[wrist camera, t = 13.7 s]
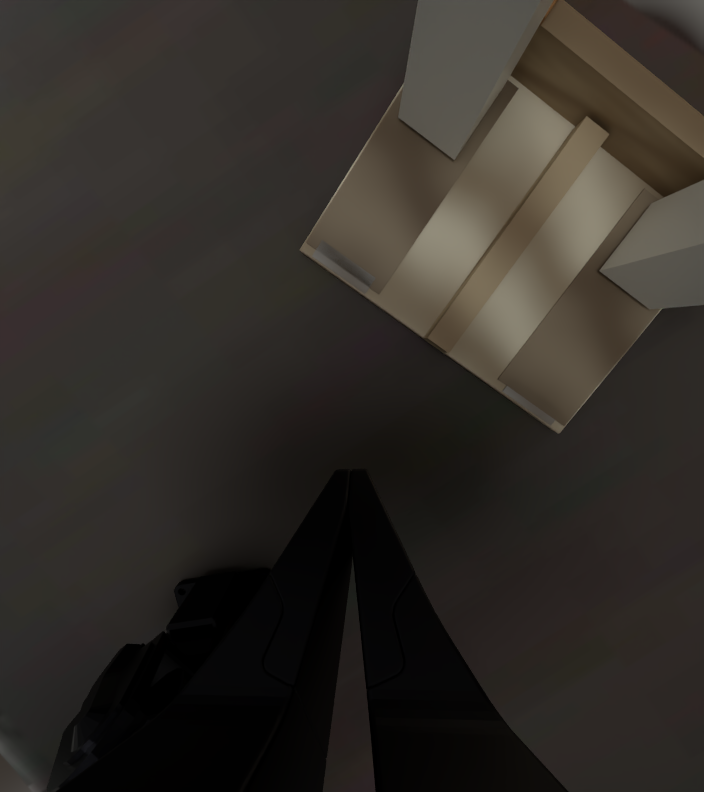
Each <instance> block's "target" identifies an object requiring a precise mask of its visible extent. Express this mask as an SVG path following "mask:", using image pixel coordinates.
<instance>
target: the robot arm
mask: <svg viewBox="0 0 704 792" xmlns="http://www.w3.org/2000/svg"><path fill="white" fill-rule="evenodd" d="M352 558H353V562H354V572H355V582H356V592H357V602H358V611H359V621H360V631H361V641H362V651H363V661H364V671H365V681H366V689H367V700H368V710H369V721H370V732H371V743H372V755H373V766H374V778H375V790H376V792H568V791H567V790H566V789H565V788H564V786H563V785H562V784H561V783H560V782H559V781H558V780H557V779H556V778H555V777H554V776H553V774H552V773H551V772H550V771H549V770H548V769H547V768H546V767H545V766H544V765H543V764H542V763H541V761H540V760H539V759H538V758H537V757H536V756H535V755H534V754H533V753H532V752H531V751H530V749H529V748H528V747H527V746H526V745H525V744H524V743H523V742H522V741H521V740H520V739H519V738H518V736H517V735H516V734H515V733H514V732H513V731H512V730H511V729H510V727H509V726H508V725H507V723H506V722H505V721H504V720H503V718H502V717H501V716H500V714H499V713H498V711H497V710H496V709H495V707H494V706H493V704H492V703H491V701H490V700H489V698H488V697H487V695H486V694H485V692H484V691H483V689H482V687H481V686H480V684H479V683H478V681H477V680H476V678H475V676H474V675H473V673H472V672H471V670H470V668H469V667H468V665H467V664H466V662H465V660H464V659H463V657H462V656H461V654H460V652H459V651H458V649H457V648H456V646H455V644H454V643H453V641H452V640H451V638H450V636H449V635H448V633H447V631H446V630H445V628H444V626H443V625H442V623H441V621H440V619H439V618H438V616H437V614H436V613H435V611H434V609H433V607H432V605H431V603H430V601H429V599H428V597H427V595H426V593H425V591H424V589H423V587H422V585H421V583H420V581H419V579H418V577H417V575H415V571H414V568H413V566H412V564H411V562H410V560H409V558H408V556H407V554H406V551H405V549H404V547H403V545H402V543H401V541H400V539H399V537H398V534H397V532H396V530H395V528H394V526H393V524H392V522H391V520H390V517H389V515H388V513H387V511H386V509H385V507H384V505H383V502H382V500H381V498H380V496H379V494H378V492H377V490H376V488H375V485H374V483H373V481H372V479H371V477H370V475H369V473H368V471H367V470H366V469H353V470H352V471H351V470H349V469H339V470H336V471H335V472H334V473H333V475H332V477H331V478H330V480H329V481H328V483H327V484H326V486H325V487H324V489H323V491H322V492H321V494H320V495H319V497H318V498H317V500H316V502H315V503H314V505H313V506H312V508H311V509H310V511H309V512H308V514H307V516H306V517H305V519H304V520H303V522H302V523H301V525H300V526H299V528H298V530H297V531H296V533H295V534H294V536H293V537H292V539H291V540H290V542H289V544H288V545H287V547H286V548H285V550H284V551H283V553H282V554H281V556H280V558H279V559H278V561H277V562H276V564H275V565H274V567H273V568H272V570H271V571H270V570H269V569H267V568H263V569H257V570H250V571H244V572H229V573H223V574H216V575H210V576H203V577H200V578H198V579H192V580H185V581H181V582H179V583H178V585H177V586H176V587H175V590H174V593H175V597H176V600H177V603H178V607H179V609H178V610H177V612H176V613H175V615H174V616H173V618H172V619H171V621H170V622H169V624H168V625H167V627H166V630H167V633H165V632H164V631H163V632H161V633H160V634H159V635H158V636H157V637H156V638H154V639H153V640H152V641H151V642H149V643H148V644H146V645H145V644H144V643H142V644H141V645H140V644H126V645H125V646H124V647H123V648H121V649H120V650H119V651H118V653H117V654H116V655H115V656H114V658H113V659H112V660H111V662H110V663H109V664H108V666H107V667H106V668H105V670H104V671H103V672H102V674H101V675H100V676H99V678H98V679H97V681H96V682H95V684H94V685H93V687H92V688H91V690H90V692H89V694H88V697H87V698H86V700H85V701H84V703H83V705H82V707H81V710H80V712H79V713H78V714H77V715H76V717H75V718H74V719H73V720H72V722H71V723H70V724H69V725H68V727H67V728H66V729H65V731H64V733H63V736H62V739H61V743H60V746H59V749H58V753H57V756H56V759H55V763H54V766H53V770H52V773H51V776H50V780H49V783H48V786H47V792H323V784H324V776H325V768H326V758H327V752H328V745H329V737H330V729H331V721H332V714H333V706H334V698H335V691H336V683H337V675H338V667H339V660H340V652H341V644H342V636H343V629H344V621H345V613H346V605H347V598H348V590H349V582H350V574H351V567H352ZM262 576H266V577H267V578H266V579H264V578H262ZM181 588H183V589H184V590H185V591H183V590H182V589H181Z"/></svg>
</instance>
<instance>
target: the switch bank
mask: <svg viewBox="0 0 704 792" xmlns="http://www.w3.org/2000/svg"><path fill="white" fill-rule="evenodd" d="M403 86H404V83H403V85H402V87H401V88H400V90H399V92H398V93H397V95H396V96H395V98H394V100H393V101H392V103H391V104H390V106H389V108H388V109H387V111H386V112H385V114H384V116H383V117H382V119H381V120H380V122H379V124H378V125H377V127H376V128H375V130H374V132H373V133H372V135H371V136H370V138H369V140H368V141H367V143H366V144H365V146H364V148H363V149H362V151H361V152H360V154H359V156H358V157H357V159H356V160H355V162H354V164H353V165H352V167H351V168H350V170H349V172H348V173H347V175H346V176H345V178H344V180H343V181H342V183H341V184H340V186H339V188H338V189H337V191H336V192H335V194H334V196H333V197H332V199H331V200H330V202H329V204H328V205H327V207H326V208H325V210H324V212H323V213H322V215H321V216H320V218H319V220H318V221H317V223H316V224H315V226H314V228H313V229H312V231H311V232H310V234H309V236H308V237H307V239H306V241H305V242H304V244H303V245H302V247H301V249H300V251H301V252H302V253H303V254H304V255H305V256H307V257H308V258H310V259H311V260H312V261H314V262H315V263H317V264H318V265H319V266H321V267H322V268H324V269H325V270H327V271H328V272H329V273H331V274H332V275H334V276H335V277H336V278H338V279H339V280H341V281H342V282H343V283H345V284H346V285H348V286H349V287H351V288H352V289H353V290H355V291H356V292H358V293H359V294H360V295H362V296H363V297H365V298H366V299H367V300H369V301H370V302H372V303H373V304H375V305H376V306H377V307H379V308H380V309H382V310H383V311H384V312H386V313H387V314H389V315H390V316H391V317H393V318H394V319H396V320H397V321H398V322H400V323H401V324H403V325H404V326H406V327H407V328H408V329H410V330H411V331H413V332H414V333H415V334H417V335H418V336H420V337H421V338H422V339H424V340H425V341H427V342H428V343H430V344H431V345H432V346H434V347H435V348H437V349H438V350H439V351H441V352H442V353H444V354H445V355H446V356H448V357H449V358H451V359H452V360H454V361H455V362H456V363H458V364H459V365H461V366H462V367H463V368H465V369H466V370H468V371H469V372H470V373H472V374H473V375H475V376H476V377H477V378H479V379H480V380H482V381H483V382H485V383H486V384H487V385H489V386H490V387H492V388H493V389H494V390H496V391H497V392H499V393H500V394H501V395H503V396H504V397H506V398H507V399H509V400H510V401H511V402H513V403H514V404H516V405H517V406H518V407H520V408H521V409H523V410H524V411H525V412H527V413H528V414H530V415H531V416H533V417H534V418H535V419H537V420H538V421H540V422H541V423H542V424H544V425H545V426H547V427H548V428H549V429H551V430H552V431H554V432H556V433H558V434H559V433H560V432H561V431H562V430H563V428H564V427H565V426H566V425H567V424H568V422H569V421H570V420H571V419H572V417H573V416H574V415H575V414H576V413H577V411H578V410H579V409H580V408H581V407H582V405H583V404H584V403H585V402H586V400H587V399H588V398H589V397H590V396H591V394H592V393H593V392H594V391H595V390H596V388H597V387H598V386H599V385H600V383H601V382H602V381H603V380H604V379H605V377H606V376H607V375H608V374H609V372H610V371H611V370H612V369H613V368H614V366H615V365H616V364H617V363H618V362H619V360H620V359H621V358H622V357H623V355H624V354H625V353H626V352H627V351H628V349H629V348H630V347H631V346H632V345H633V343H634V342H635V341H636V340H637V338H638V337H639V336H640V335H641V334H642V332H643V331H644V330H645V329H646V328H647V326H648V325H649V324H650V323H651V321H652V320H653V319H654V318H655V317H656V315H657V314H658V313H659V312H660V311H661V309H662V308H661V309H648V308H647V307H646V306H645V305H643V304H642V303H641V302H639V301H638V300H637V299H635V298H634V297H633V296H631V295H630V294H629V293H627V292H626V291H625V290H624V289H622V288H621V287H620V286H618V285H617V284H616V283H614V282H613V281H612V280H610V279H609V278H608V277H606V276H605V275H604V274H603V273H601V272H600V271H599V270H600V269H601V268H602V266H603V265H604V264H605V263H606V261H607V260H608V259H609V257H610V256H611V255H612V254H613V252H614V251H615V250H616V248H617V247H618V246H619V245H620V243H621V242H622V241H623V239H624V238H625V237H626V236H627V234H628V233H629V232H630V230H631V229H632V228H633V227H634V225H635V224H636V223H637V221H638V220H639V219H640V218H641V216H642V215H643V214H644V212H645V211H646V210H647V209H648V207H649V206H650V205H651V203H653V202H655V201H657V200H660V199H662V198H664V197H666V196H669V195H671V194H673V193H675V192H678V191H680V190H682V189H684V188H686V187H689V186H691V185H693V184H695V183H698V182H700V181H702V180H704V116H703V115H702V114H701V113H699V112H698V111H697V110H696V109H695V108H693V107H692V106H691V105H690V104H688V103H687V102H686V101H685V100H684V99H682V98H681V97H680V96H679V95H678V94H676V93H675V92H674V91H673V90H672V89H670V88H669V87H668V86H667V85H666V84H664V83H663V82H662V81H661V80H659V79H658V78H657V77H656V76H655V75H653V74H652V73H651V72H650V71H649V70H647V69H646V68H645V67H644V66H643V65H641V64H640V63H639V62H638V61H637V60H635V59H634V58H633V57H632V56H630V55H629V54H628V53H627V52H626V51H624V50H623V49H622V48H621V47H620V46H618V45H617V44H616V43H615V42H614V41H612V40H611V39H610V38H609V37H607V36H606V35H605V34H604V33H603V32H601V31H600V30H599V29H598V28H597V27H595V26H594V25H593V24H592V23H591V22H589V21H588V20H587V19H586V18H585V17H583V16H582V15H581V14H580V13H578V12H577V11H576V10H575V9H574V8H572V7H571V6H570V5H569V4H568V3H566V2H565V1H564V0H554V1H553V2H552V4H551V6H550V8H549V9H548V11H547V13H546V15H545V16H544V18H543V20H542V21H541V23H540V25H539V27H538V28H537V30H536V32H535V34H534V35H533V37H532V39H531V40H530V42H529V44H528V46H527V47H526V49H525V51H524V53H523V54H522V56H521V58H520V59H519V61H518V63H517V65H516V66H515V68H514V70H513V72H512V73H511V75H510V77H509V78H508V80H507V82H506V84H505V85H504V87H503V88H502V90H501V91H500V93H499V94H498V96H497V97H496V99H495V100H494V102H493V103H492V105H491V106H490V108H489V109H488V111H487V112H486V114H485V115H484V117H483V118H482V120H481V121H480V123H479V124H478V126H477V127H476V129H475V130H474V132H473V133H472V135H471V136H470V138H469V139H468V141H467V142H466V144H465V145H464V147H463V148H462V150H461V151H460V153H459V154H458V156H457V157H456V159H455V160H454V159H452V158H451V157H450V156H448V155H447V154H446V153H444V152H443V151H442V150H440V149H439V148H438V147H436V146H435V145H434V144H433V143H431V142H430V141H429V140H427V139H426V138H425V137H423V136H422V135H421V134H419V133H418V132H417V131H415V130H414V129H413V128H412V127H410V126H409V125H408V124H406V123H405V122H404V121H402V120H401V119H400V118H398V115H399V109H400V103H401V98H402V92H403Z"/></svg>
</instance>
